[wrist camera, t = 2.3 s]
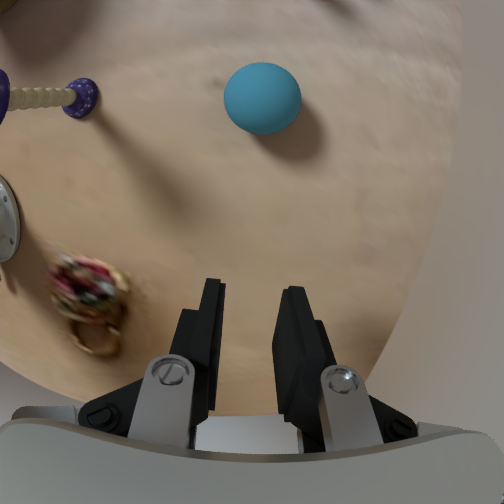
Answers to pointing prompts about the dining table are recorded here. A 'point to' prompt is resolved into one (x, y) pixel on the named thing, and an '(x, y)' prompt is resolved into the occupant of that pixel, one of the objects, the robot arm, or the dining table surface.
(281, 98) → the ball
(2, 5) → the plant pot
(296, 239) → the dining table surface
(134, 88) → the dining table surface
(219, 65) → the dining table surface
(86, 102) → the toy lamp
